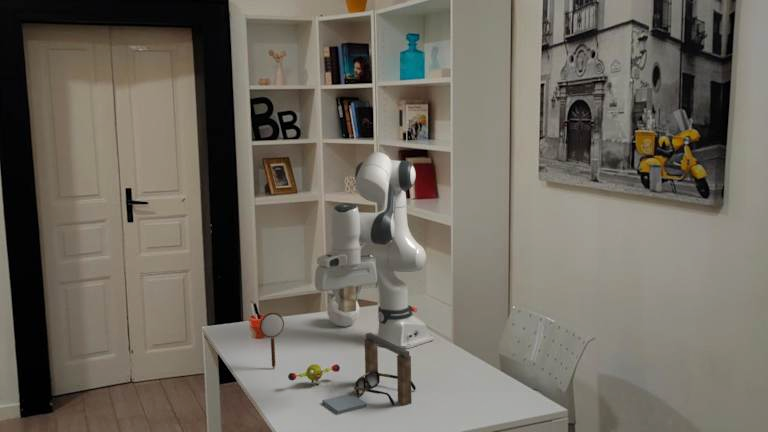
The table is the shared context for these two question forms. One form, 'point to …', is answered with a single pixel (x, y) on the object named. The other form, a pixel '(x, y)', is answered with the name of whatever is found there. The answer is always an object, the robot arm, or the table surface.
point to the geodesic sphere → (342, 314)
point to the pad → (344, 403)
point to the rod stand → (402, 371)
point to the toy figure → (314, 373)
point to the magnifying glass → (272, 329)
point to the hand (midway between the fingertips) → (347, 301)
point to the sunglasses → (373, 383)
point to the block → (348, 299)
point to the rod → (387, 345)
